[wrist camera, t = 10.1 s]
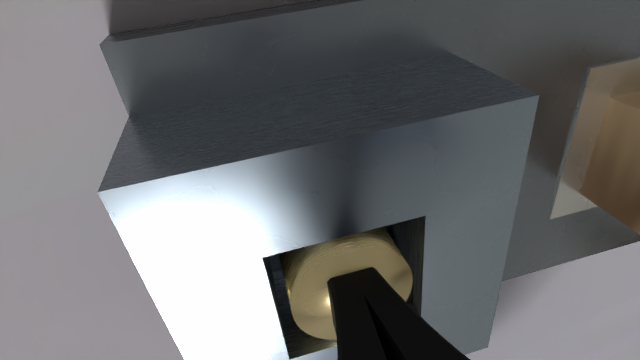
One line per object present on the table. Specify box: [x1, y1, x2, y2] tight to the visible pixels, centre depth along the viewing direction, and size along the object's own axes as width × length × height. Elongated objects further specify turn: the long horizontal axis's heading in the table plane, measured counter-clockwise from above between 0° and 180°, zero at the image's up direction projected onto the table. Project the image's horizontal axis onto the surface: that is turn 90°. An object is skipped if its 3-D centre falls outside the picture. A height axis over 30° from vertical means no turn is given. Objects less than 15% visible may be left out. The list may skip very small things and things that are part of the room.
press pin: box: [278, 226, 413, 340], centre depth 13 cm, size 4×4×3 cm
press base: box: [98, 0, 640, 360], centre depth 15 cm, size 14×26×5 cm, turn 97°
